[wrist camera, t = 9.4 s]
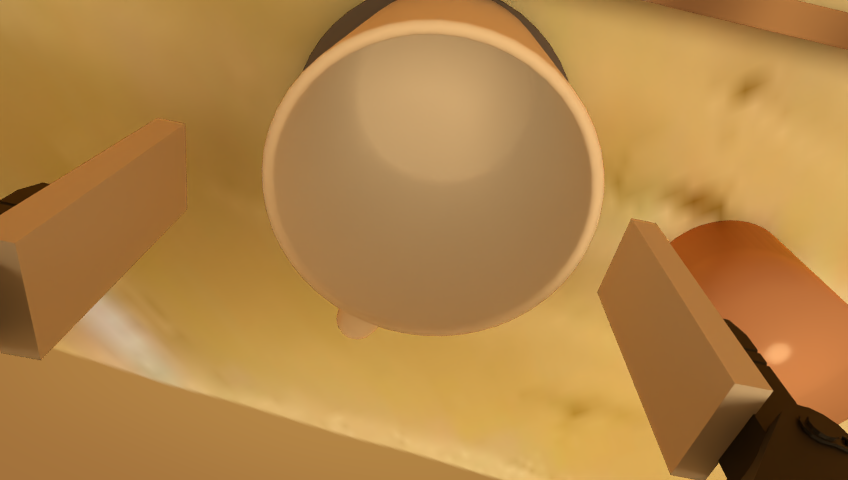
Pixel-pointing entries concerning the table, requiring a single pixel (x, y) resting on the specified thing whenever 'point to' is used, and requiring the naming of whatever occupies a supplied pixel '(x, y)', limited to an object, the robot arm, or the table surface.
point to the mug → (433, 171)
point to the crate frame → (775, 17)
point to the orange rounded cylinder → (775, 308)
